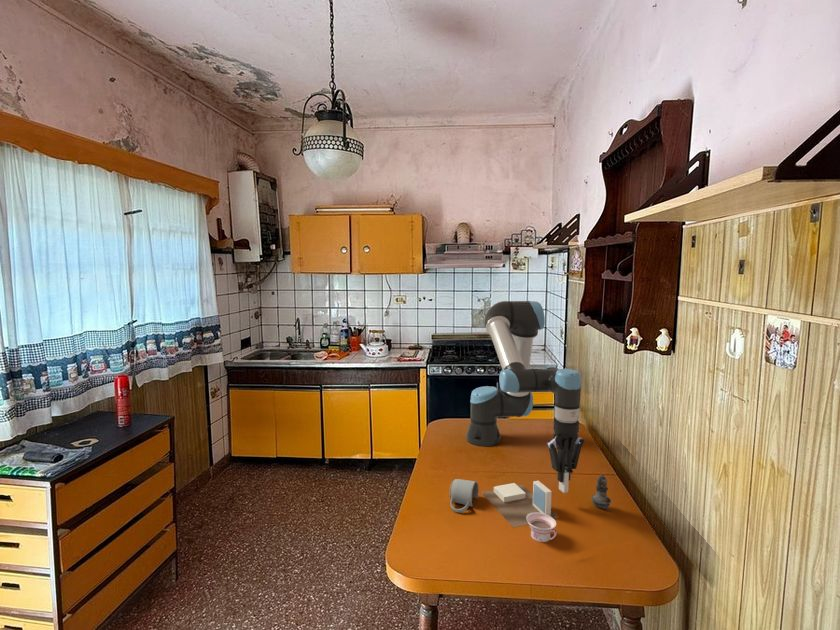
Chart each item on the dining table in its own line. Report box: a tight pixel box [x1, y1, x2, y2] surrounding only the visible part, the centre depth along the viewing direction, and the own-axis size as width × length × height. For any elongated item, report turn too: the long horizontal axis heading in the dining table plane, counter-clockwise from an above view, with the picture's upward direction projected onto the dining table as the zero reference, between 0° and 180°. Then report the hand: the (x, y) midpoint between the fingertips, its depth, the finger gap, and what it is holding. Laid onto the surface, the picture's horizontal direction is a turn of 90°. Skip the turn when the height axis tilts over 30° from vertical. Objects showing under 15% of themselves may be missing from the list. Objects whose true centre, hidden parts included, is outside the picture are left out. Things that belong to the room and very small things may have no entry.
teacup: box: [526, 512, 558, 543], centre depth 122 cm, size 12×12×6 cm
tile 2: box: [532, 480, 552, 516], centre depth 135 cm, size 7×2×8 cm, turn 19°
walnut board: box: [480, 484, 560, 529], centre depth 139 cm, size 21×16×1 cm
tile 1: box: [493, 482, 526, 502], centre depth 144 cm, size 7×2×8 cm
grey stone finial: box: [591, 473, 612, 512], centre depth 137 cm, size 6×6×12 cm
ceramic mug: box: [448, 478, 479, 514], centre depth 140 cm, size 11×8×8 cm
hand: (563, 490), depth 137 cm, fingers closed
